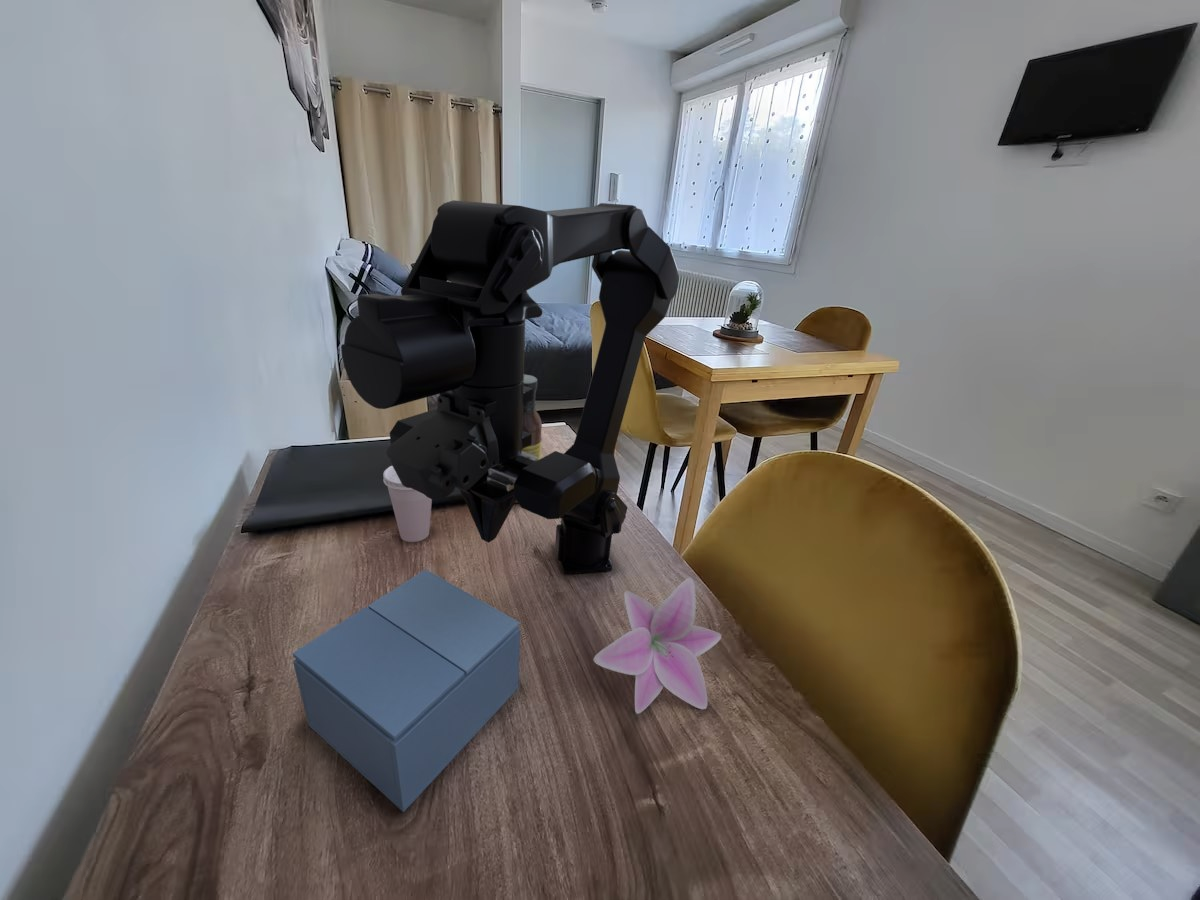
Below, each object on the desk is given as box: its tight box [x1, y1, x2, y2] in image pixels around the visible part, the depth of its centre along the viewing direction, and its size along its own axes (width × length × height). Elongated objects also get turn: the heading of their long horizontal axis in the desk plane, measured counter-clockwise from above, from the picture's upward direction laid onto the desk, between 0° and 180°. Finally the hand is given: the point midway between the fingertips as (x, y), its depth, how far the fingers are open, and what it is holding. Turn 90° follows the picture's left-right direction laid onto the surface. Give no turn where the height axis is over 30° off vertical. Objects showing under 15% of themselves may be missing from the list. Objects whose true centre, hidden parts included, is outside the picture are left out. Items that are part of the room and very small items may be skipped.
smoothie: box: [382, 465, 433, 543], centre depth 63 cm, size 6×6×14 cm
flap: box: [367, 568, 520, 674], centre depth 43 cm, size 6×12×1 cm, turn 59°
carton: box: [292, 606, 521, 813], centre depth 42 cm, size 13×12×8 cm
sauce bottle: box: [514, 373, 543, 504], centre depth 74 cm, size 7×6×20 cm
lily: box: [593, 577, 722, 715], centre depth 47 cm, size 12×12×10 cm
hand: (488, 539), depth 45 cm, fingers closed
